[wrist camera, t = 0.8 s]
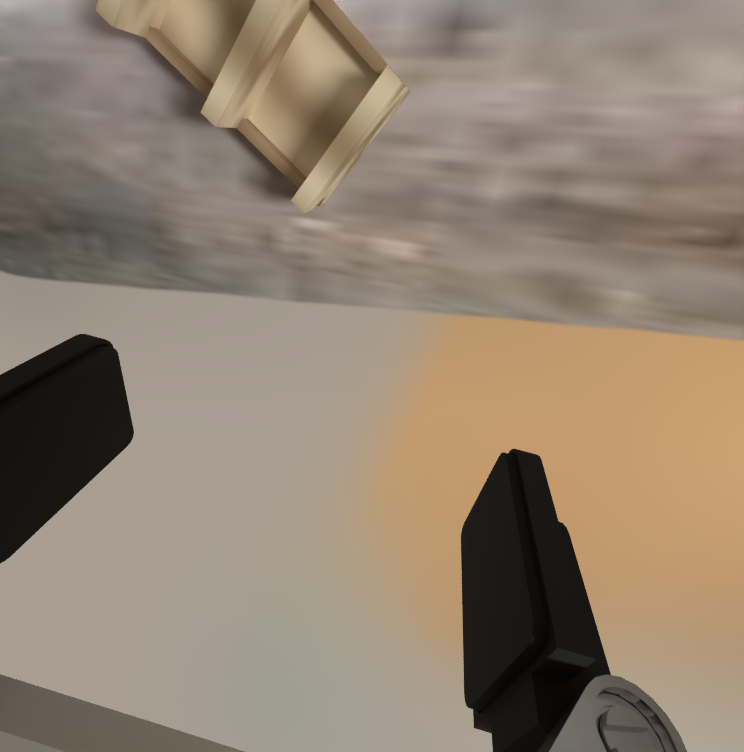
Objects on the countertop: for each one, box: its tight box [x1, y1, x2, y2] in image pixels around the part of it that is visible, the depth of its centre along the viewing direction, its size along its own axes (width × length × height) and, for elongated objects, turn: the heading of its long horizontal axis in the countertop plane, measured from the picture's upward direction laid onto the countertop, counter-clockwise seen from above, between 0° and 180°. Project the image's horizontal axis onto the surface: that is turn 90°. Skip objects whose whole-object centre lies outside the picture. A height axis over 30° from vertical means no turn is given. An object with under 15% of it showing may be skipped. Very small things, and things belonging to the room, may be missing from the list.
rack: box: [95, 0, 410, 213], centre depth 25 cm, size 10×17×5 cm, turn 48°
